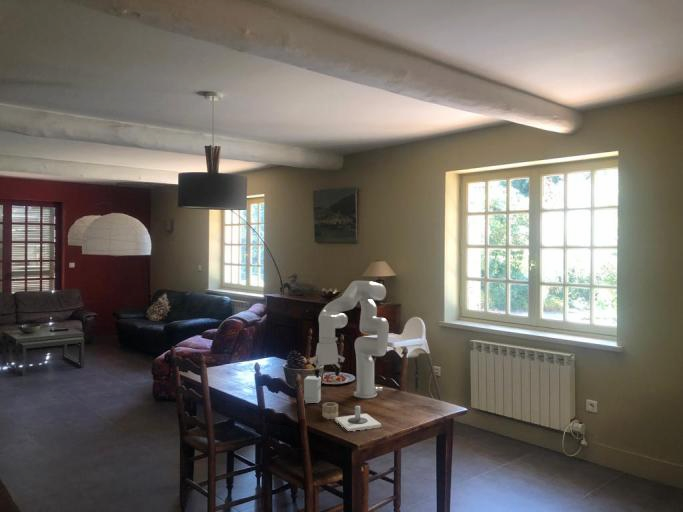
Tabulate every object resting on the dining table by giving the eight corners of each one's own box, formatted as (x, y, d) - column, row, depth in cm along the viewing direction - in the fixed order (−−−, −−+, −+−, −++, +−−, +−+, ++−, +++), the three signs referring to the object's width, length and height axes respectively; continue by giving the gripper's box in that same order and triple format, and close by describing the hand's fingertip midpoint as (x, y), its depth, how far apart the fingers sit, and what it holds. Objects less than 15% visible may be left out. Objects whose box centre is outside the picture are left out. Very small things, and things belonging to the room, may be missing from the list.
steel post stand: (366, 416, 258) (366, 399, 258) (381, 427, 244) (381, 409, 243) (334, 420, 252) (334, 403, 252) (348, 432, 238) (348, 414, 237)
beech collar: (334, 413, 263) (334, 401, 262) (339, 418, 256) (339, 405, 256) (320, 415, 260) (320, 403, 260) (325, 420, 254) (325, 407, 253)
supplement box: (317, 404, 278) (317, 379, 277) (303, 403, 279) (303, 379, 279) (321, 400, 285) (321, 376, 285) (307, 399, 287) (307, 375, 286)
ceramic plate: (315, 375, 338) (315, 370, 338) (356, 376, 335) (356, 371, 335) (308, 386, 313) (308, 381, 312) (352, 387, 310) (352, 382, 310)
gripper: (341, 338, 264) (341, 373, 265) (307, 340, 259) (307, 376, 259) (347, 340, 257) (346, 376, 258) (311, 342, 252) (311, 379, 252)
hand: (327, 376), depth 258 cm, fingers open, 9 cm apart
